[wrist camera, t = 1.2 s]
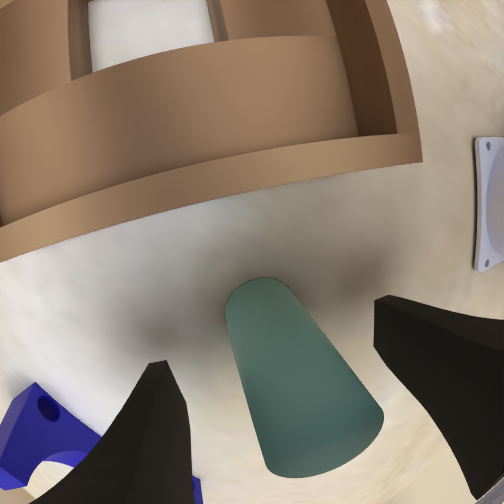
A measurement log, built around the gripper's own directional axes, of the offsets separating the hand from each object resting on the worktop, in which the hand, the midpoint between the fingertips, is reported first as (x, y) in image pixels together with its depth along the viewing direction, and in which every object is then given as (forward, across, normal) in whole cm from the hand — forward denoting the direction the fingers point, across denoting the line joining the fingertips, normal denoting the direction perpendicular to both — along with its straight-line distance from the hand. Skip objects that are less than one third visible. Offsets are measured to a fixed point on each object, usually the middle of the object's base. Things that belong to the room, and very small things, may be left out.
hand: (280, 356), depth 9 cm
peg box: (+3, +2, -12) cm, 13 cm away
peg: (+3, 0, 0) cm, 3 cm away
